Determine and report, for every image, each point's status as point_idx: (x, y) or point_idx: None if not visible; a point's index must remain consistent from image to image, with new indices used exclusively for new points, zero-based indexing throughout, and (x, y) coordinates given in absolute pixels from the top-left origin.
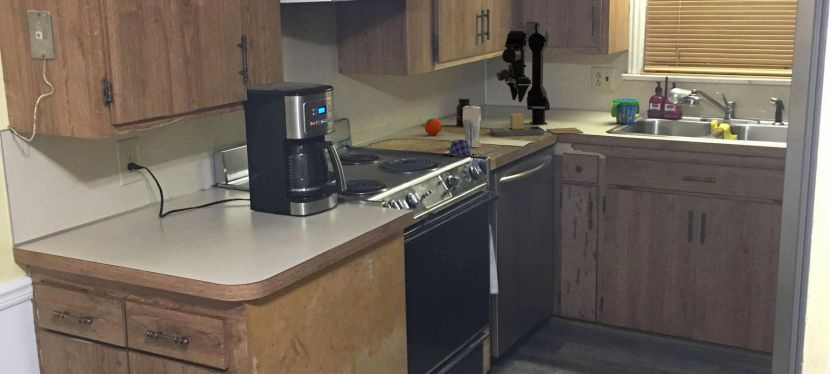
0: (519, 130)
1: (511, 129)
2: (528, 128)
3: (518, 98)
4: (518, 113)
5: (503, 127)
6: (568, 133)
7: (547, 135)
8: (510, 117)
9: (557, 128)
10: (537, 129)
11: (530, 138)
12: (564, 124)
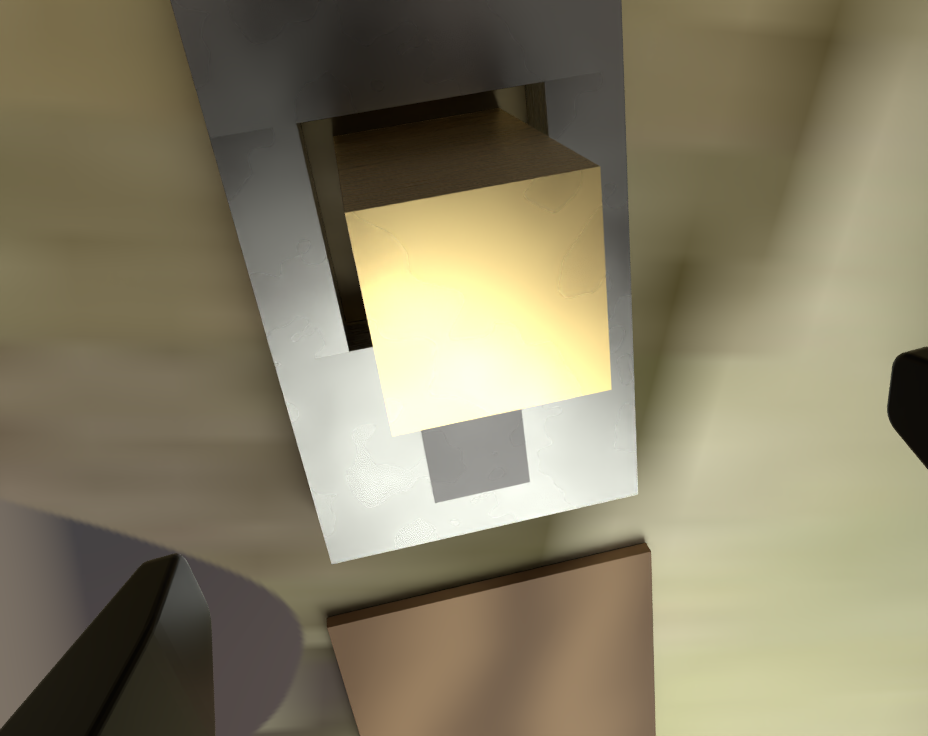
0: (265, 259)
1: (413, 135)
2: None
3: (88, 645)
4: (589, 344)
5: (613, 4)
6: (359, 728)
7: (268, 557)
8: (537, 158)
9: (643, 641)
10: (349, 494)
11: (4, 374)
12: (914, 669)
